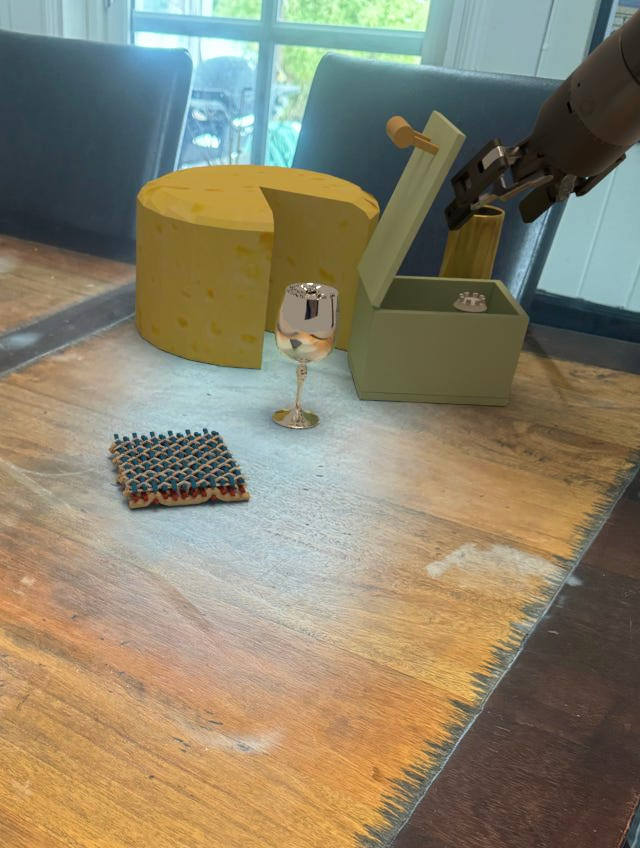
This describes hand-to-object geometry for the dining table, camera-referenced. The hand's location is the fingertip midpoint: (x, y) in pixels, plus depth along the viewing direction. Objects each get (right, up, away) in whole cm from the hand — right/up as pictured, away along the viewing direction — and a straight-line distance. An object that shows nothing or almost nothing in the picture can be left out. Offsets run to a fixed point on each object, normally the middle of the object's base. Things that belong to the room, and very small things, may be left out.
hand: (487, 218), depth 89 cm
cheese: (-21, -3, +21) cm, 30 cm away
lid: (-7, +1, -1) cm, 7 cm away
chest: (-3, -13, +9) cm, 16 cm away
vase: (+2, -6, +18) cm, 19 cm away
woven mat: (-30, -26, -9) cm, 41 cm away
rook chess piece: (0, -12, +9) cm, 15 cm away
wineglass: (-18, -19, +1) cm, 26 cm away
